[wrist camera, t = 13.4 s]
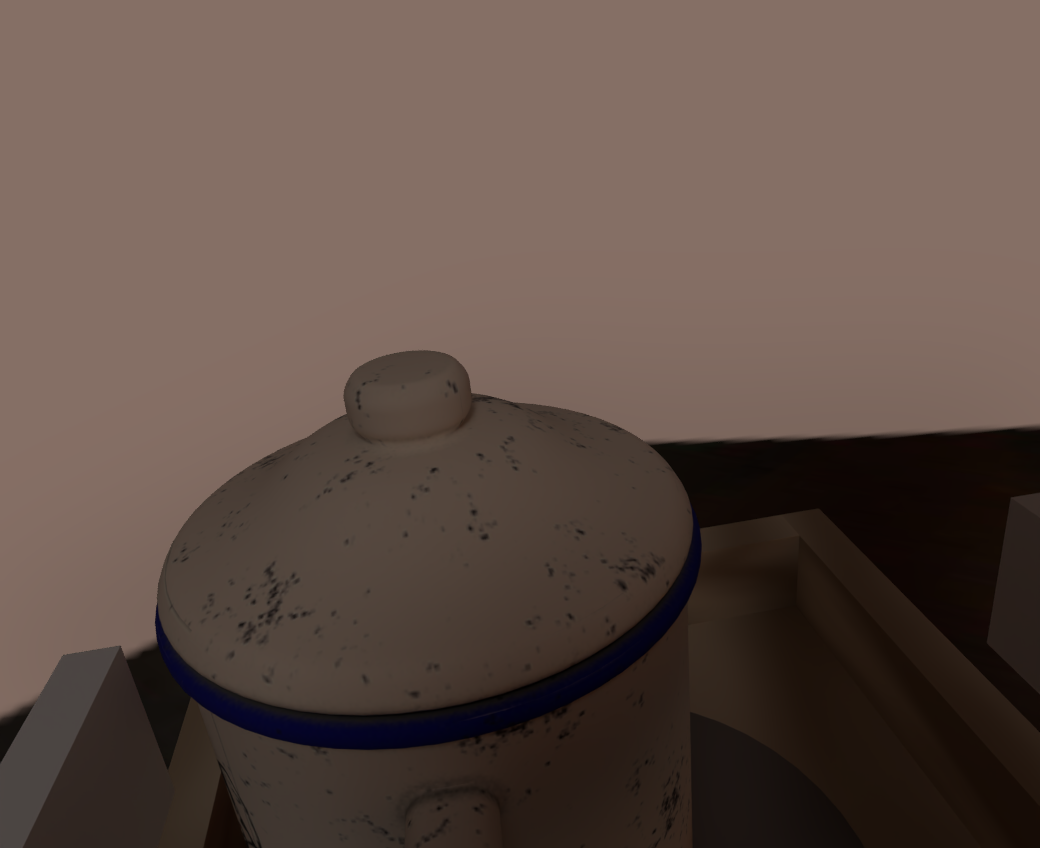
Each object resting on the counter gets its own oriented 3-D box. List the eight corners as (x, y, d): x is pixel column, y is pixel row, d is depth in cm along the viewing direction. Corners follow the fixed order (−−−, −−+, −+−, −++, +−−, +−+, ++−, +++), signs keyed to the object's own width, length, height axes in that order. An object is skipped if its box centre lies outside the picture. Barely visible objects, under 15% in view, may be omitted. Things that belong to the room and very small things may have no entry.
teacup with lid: (306, 743, 21) (187, 321, 17) (644, 691, 22) (623, 265, 17) (183, 1446, 11) (-265, 805, 6) (860, 1309, 11) (967, 616, 6)
